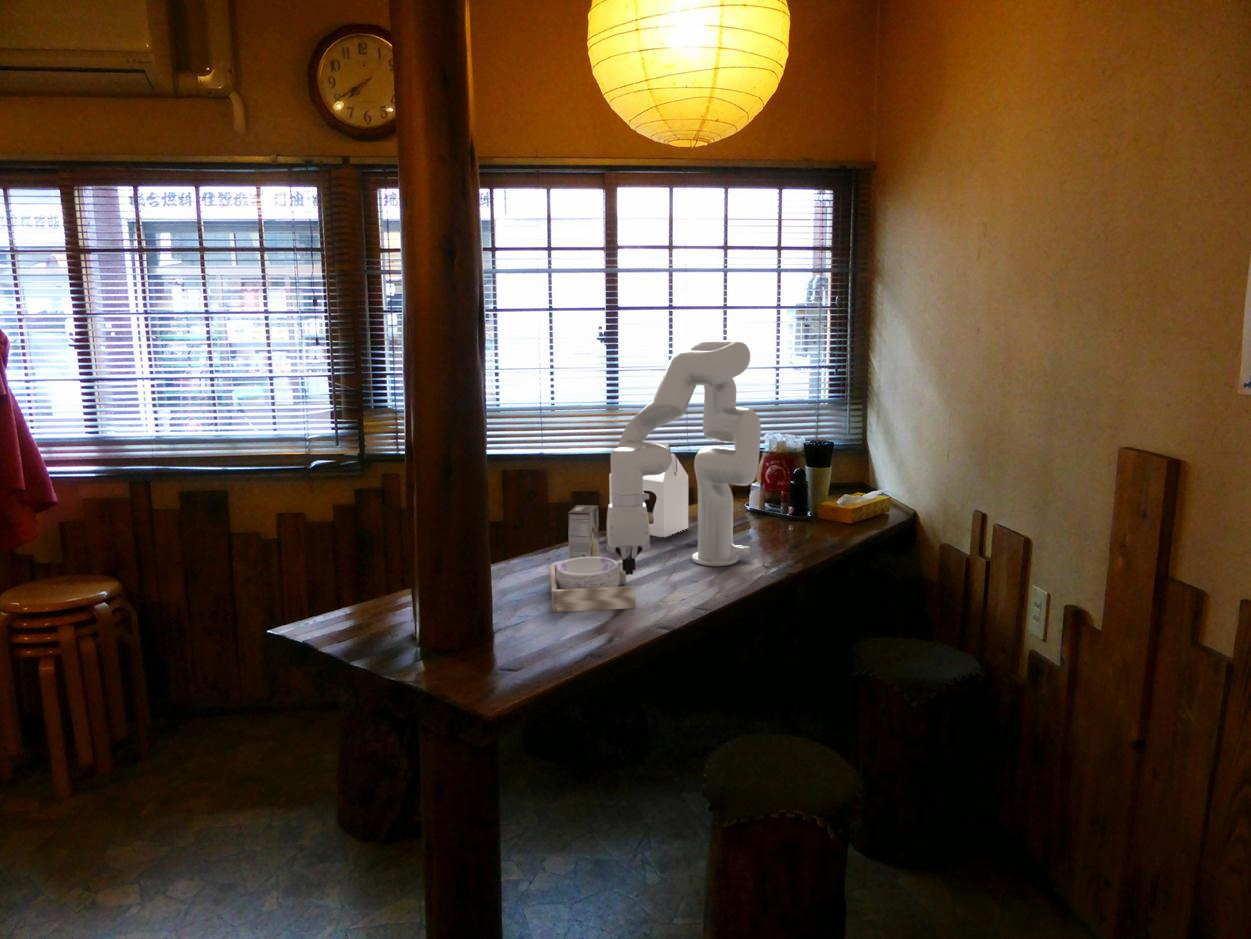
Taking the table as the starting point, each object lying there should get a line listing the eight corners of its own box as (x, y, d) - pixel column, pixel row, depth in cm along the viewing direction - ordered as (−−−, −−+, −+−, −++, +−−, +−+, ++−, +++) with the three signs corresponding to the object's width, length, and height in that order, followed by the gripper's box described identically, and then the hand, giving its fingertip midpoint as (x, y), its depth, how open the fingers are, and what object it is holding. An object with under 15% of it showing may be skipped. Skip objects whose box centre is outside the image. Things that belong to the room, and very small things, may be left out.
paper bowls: (547, 592, 198) (546, 561, 196) (602, 582, 205) (602, 552, 203) (572, 611, 185) (571, 577, 183) (630, 600, 191) (630, 568, 190)
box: (625, 579, 207) (625, 561, 206) (635, 608, 186) (635, 587, 185) (550, 583, 204) (550, 564, 204) (552, 612, 184) (552, 591, 183)
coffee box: (577, 560, 224) (576, 504, 221) (600, 561, 222) (599, 505, 220) (568, 570, 215) (567, 512, 212) (592, 571, 214) (591, 512, 211)
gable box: (609, 527, 260) (607, 441, 255) (634, 519, 270) (633, 436, 265) (664, 538, 246) (664, 447, 241) (689, 529, 256) (689, 442, 251)
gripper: (656, 494, 197) (657, 566, 200) (594, 497, 195) (597, 570, 198) (660, 501, 189) (661, 576, 193) (597, 504, 188) (599, 579, 191)
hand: (628, 573), depth 196 cm, fingers closed
